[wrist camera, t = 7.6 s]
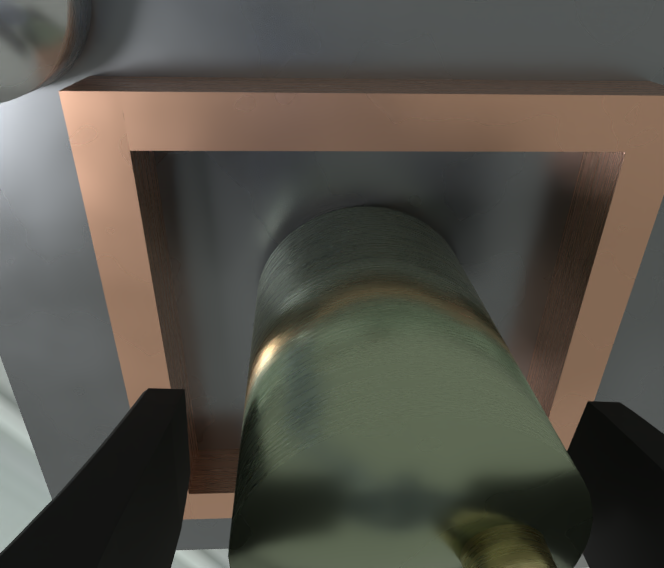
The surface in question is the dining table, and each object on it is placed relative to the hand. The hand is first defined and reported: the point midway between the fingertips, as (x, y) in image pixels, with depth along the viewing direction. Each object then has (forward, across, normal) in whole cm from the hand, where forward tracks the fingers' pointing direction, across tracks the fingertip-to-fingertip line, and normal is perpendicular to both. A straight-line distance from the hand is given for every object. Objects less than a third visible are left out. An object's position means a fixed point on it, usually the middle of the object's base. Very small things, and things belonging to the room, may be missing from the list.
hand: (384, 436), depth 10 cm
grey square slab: (+6, 0, 0) cm, 6 cm away
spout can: (+4, 0, 0) cm, 4 cm away
